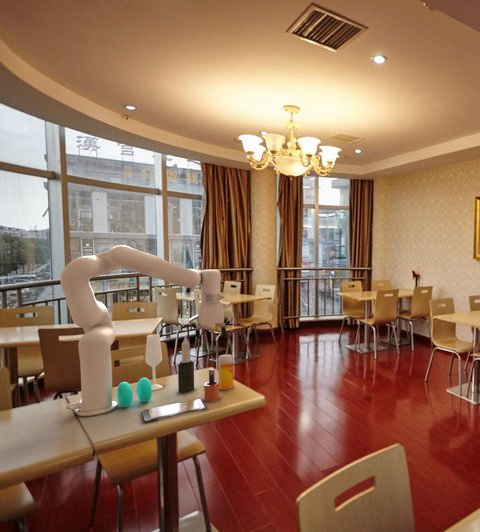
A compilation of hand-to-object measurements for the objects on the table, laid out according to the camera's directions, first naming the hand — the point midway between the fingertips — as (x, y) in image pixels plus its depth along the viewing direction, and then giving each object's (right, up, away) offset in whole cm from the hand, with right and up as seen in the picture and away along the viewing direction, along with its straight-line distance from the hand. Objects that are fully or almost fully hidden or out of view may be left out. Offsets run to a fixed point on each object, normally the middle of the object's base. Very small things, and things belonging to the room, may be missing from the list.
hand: (210, 337), depth 169 cm
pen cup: (+4, -25, -7) cm, 26 cm away
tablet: (-5, -25, -18) cm, 32 cm away
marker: (+4, -24, -7) cm, 26 cm away
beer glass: (+3, -25, +7) cm, 26 cm away
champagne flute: (-29, -25, +8) cm, 39 cm away
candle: (-12, -25, +3) cm, 28 cm away
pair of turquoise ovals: (-25, -25, -12) cm, 37 cm away
